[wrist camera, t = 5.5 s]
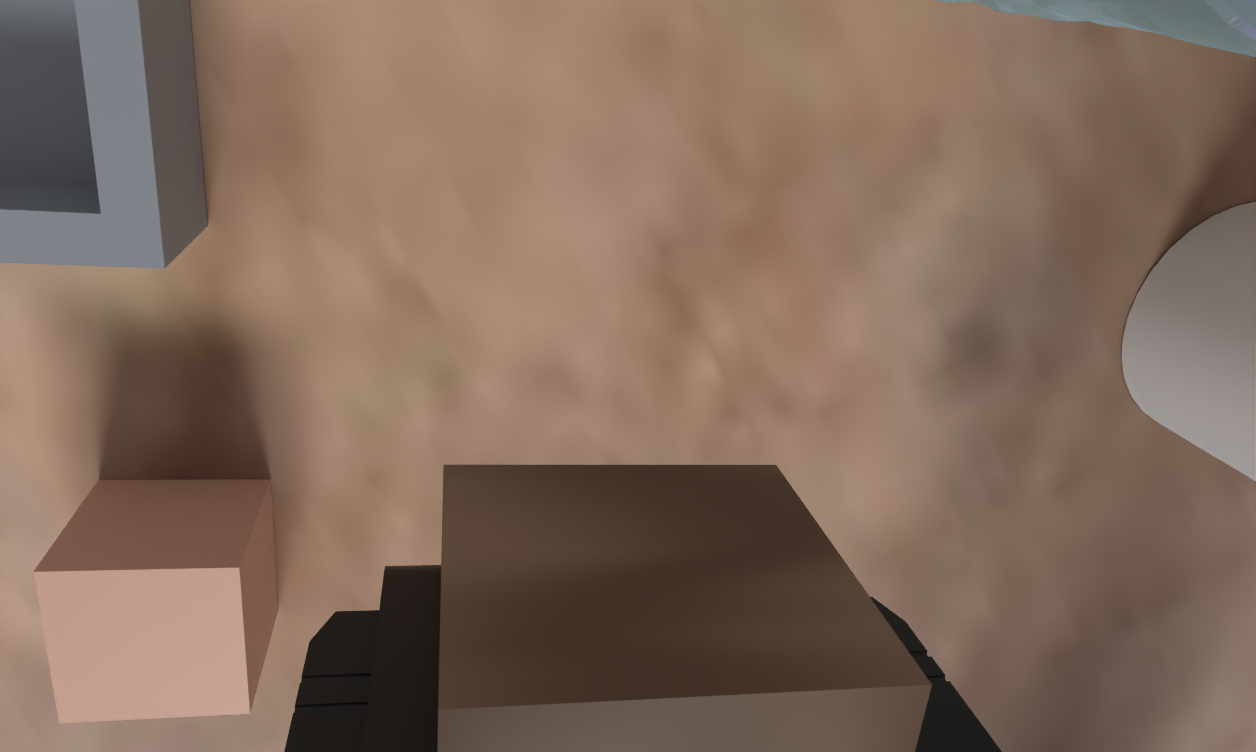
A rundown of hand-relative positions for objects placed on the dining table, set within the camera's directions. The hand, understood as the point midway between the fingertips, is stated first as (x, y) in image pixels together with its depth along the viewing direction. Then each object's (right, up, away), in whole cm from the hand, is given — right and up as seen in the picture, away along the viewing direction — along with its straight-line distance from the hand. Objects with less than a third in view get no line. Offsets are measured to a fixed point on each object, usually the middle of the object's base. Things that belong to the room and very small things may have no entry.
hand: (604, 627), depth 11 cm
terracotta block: (-11, -1, +12) cm, 17 cm away
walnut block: (0, 0, 0) cm, 0 cm away
